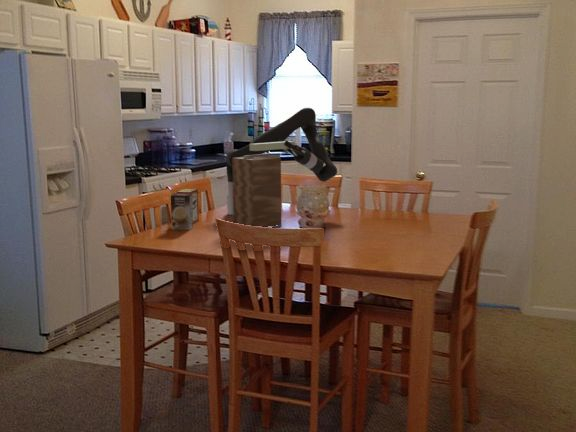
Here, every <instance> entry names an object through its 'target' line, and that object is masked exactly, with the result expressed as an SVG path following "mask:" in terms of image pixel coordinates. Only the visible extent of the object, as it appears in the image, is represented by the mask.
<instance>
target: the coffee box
mask: <svg viewBox="0 0 576 432" xmlns="http://www.w3.org/2000/svg"><path fill="white" fill-rule="evenodd" d="M170 219H171V220H170V221H171V230H174V231H175V230H176V231H178V230H180V231H191V230H192V229H193V228H194V223H193V198H192V194H179V193H177V192H176V193H175V192H174V193H172V194H171V195H170Z"/></svg>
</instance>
